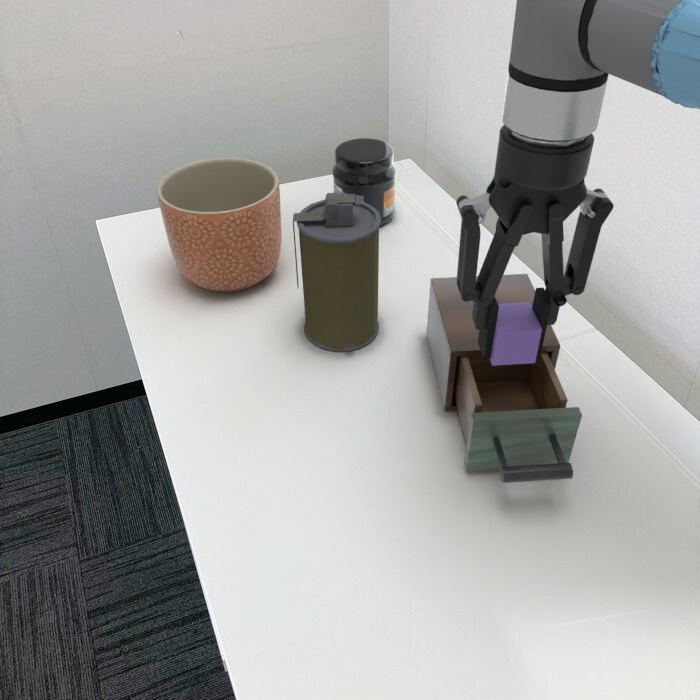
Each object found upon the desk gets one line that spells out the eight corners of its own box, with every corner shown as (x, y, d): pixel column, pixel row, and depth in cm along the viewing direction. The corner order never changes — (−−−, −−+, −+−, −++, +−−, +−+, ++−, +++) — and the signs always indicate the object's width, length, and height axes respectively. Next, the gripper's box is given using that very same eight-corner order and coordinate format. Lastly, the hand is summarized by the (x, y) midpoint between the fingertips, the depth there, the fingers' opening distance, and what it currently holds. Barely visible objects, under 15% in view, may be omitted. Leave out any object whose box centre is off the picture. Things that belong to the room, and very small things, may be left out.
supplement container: (403, 207, 124) (406, 142, 116) (380, 236, 117) (381, 169, 109) (349, 196, 128) (348, 132, 120) (323, 223, 120) (320, 157, 113)
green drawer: (584, 505, 74) (600, 455, 69) (476, 512, 73) (485, 463, 68) (535, 381, 88) (545, 333, 83) (445, 386, 88) (450, 338, 83)
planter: (173, 311, 102) (153, 218, 92) (177, 249, 114) (159, 161, 105) (290, 299, 104) (283, 207, 94) (281, 239, 116) (274, 152, 106)
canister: (376, 304, 102) (378, 177, 89) (381, 351, 94) (384, 219, 82) (301, 307, 102) (292, 180, 89) (300, 353, 94) (290, 221, 81)
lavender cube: (535, 363, 71) (542, 329, 68) (492, 366, 70) (497, 331, 68) (523, 335, 74) (529, 302, 71) (482, 338, 74) (487, 304, 71)
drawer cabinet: (546, 405, 86) (560, 345, 80) (444, 411, 86) (450, 351, 79) (516, 331, 97) (527, 273, 91) (426, 336, 97) (430, 278, 91)
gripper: (634, 105, 60) (580, 321, 75) (432, 114, 59) (418, 330, 74) (672, 142, 55) (605, 368, 70) (449, 152, 54) (430, 379, 69)
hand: (508, 348), depth 72 cm, fingers closed on lavender cube, 4 cm apart
